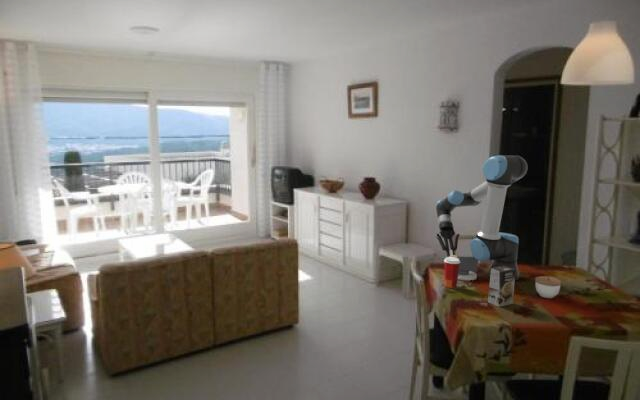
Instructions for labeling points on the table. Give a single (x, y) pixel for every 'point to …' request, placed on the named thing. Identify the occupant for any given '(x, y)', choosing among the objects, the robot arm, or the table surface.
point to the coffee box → (501, 286)
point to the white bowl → (547, 286)
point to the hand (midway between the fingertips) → (452, 261)
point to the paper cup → (451, 271)
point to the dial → (466, 264)
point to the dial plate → (467, 276)
